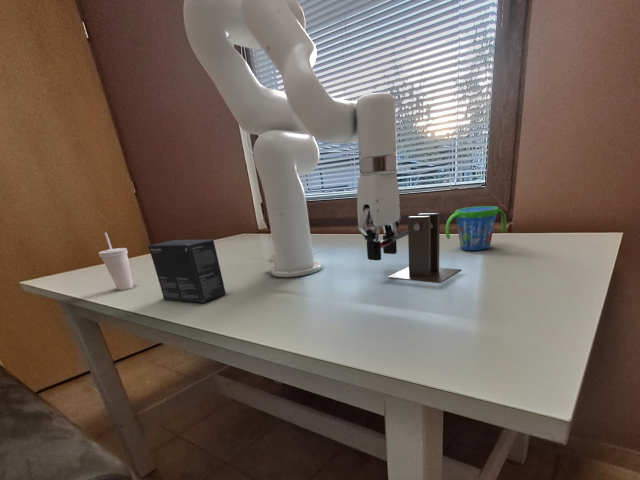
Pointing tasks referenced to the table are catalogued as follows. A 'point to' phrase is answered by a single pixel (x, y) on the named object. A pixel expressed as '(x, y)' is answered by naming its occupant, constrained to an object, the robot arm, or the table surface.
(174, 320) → the table surface
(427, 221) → the bracket
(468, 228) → the snack cup
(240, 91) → the robot arm
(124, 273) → the smoothie
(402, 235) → the tap lever
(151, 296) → the table surface
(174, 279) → the small box
